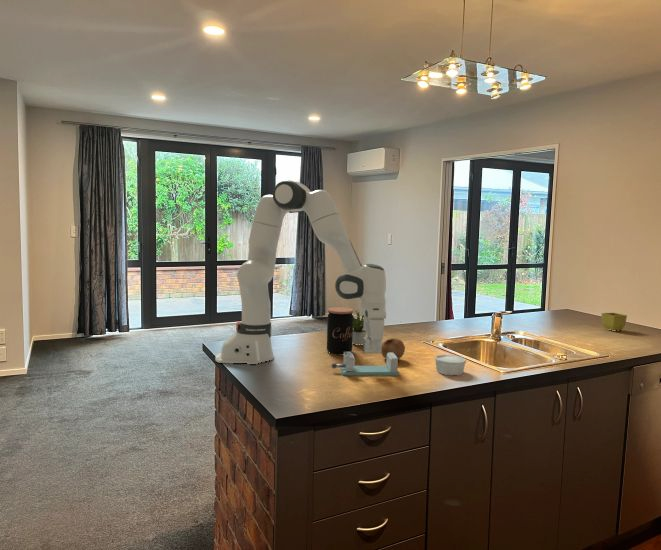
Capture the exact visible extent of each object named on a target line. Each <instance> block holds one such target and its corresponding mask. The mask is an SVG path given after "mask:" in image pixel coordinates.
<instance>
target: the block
mask: <svg viewBox="0 0 661 550" xmlns="http://www.w3.org/2000/svg"><path fill="white" fill-rule="evenodd" d="M382 344H383V339H382V340H381V341H377V345H376V350H372V349H371V338H370V337H368V336H365V337H363V347H362V351H363V353H364V354H382V353H381V352H382Z"/></svg>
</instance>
